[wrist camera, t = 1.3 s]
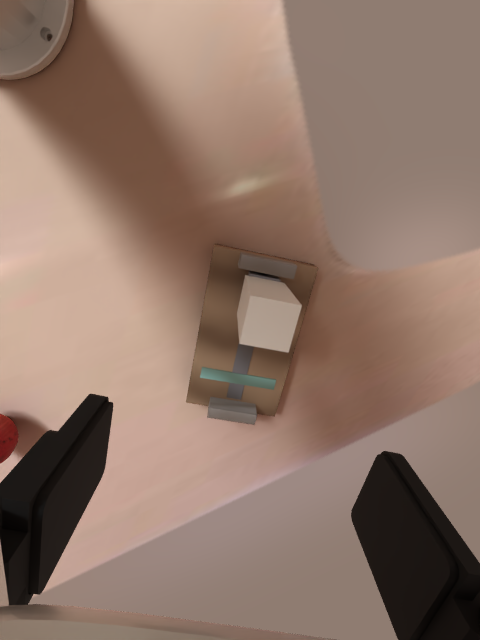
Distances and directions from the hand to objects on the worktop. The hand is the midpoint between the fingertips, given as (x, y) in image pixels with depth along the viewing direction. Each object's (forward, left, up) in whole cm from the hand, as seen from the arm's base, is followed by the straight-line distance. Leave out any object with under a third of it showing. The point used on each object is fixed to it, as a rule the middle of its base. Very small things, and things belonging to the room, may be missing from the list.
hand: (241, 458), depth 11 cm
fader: (-1, +2, -20) cm, 20 cm away
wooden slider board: (+4, +2, -23) cm, 23 cm away
